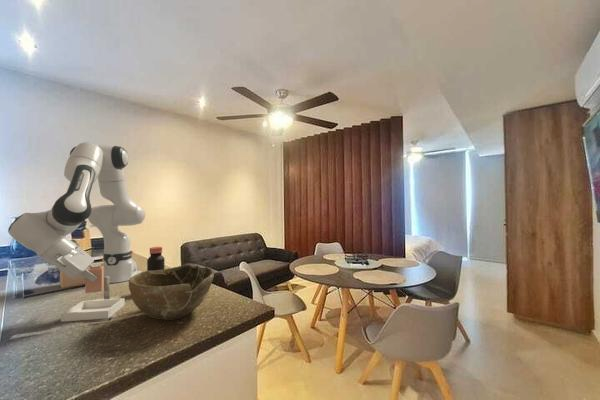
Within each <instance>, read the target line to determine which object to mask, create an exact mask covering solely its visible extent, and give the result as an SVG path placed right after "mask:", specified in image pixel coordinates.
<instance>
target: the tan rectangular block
mask: <svg viewBox="0 0 600 400" xmlns="http://www.w3.org/2000/svg"><path fill="white" fill-rule="evenodd" d="M70 240H71V241H73V242H76V243H77V244H78V242H77V241H76V240H75V239H70ZM82 284H83V285H85V278H84V277H82V276H81V275H79V276H78V277H77V278H76V279H72V278H70V277H69V276H67V275H66V274H64V273H63V272H62V271H60V270H59V286H60V287H61V289H65V287H66V288H70V286H71V287H75V286H76V285H77V286H82Z"/></svg>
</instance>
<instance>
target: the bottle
mask: <svg viewBox="0 0 600 400" xmlns="http://www.w3.org/2000/svg"><path fill="white" fill-rule="evenodd" d="M162 253H163V247H162V246H152V247H150V248H149V257H148V258H147V263H146V264H147V265H146V271H150V270H152V271H155V270H165V269H166V268H165V257H164V256H163V255H162Z"/></svg>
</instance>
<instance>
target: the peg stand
mask: <svg viewBox="0 0 600 400" xmlns="http://www.w3.org/2000/svg"><path fill="white" fill-rule="evenodd" d="M121 298H122V295H115V296H110V283H109V276H106V277H104V288H103V297H101V298H95V299H94V300H105V299H121Z"/></svg>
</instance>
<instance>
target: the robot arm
mask: <svg viewBox="0 0 600 400" xmlns="http://www.w3.org/2000/svg"><path fill="white" fill-rule="evenodd" d="M128 162H129V155H128V151H127V150H126V149H125V148H124V147H121V146H119V145H114V146H112V145H106V144H105V145H104V144H95V143H92V142H87V141H86V142H85V141H84V142H81V143H79V144H77V145H76V146H74V147H72V149H70V152H69V156H68V158H67V160H66V163H65V167H64V172H63V176H64V178H65V179H66V180H67V181H68V182H70V183H69V185H68V188H67V190H66V191H65V193H64V194H63V195H61V196H60V197H59V198H57V200H55V202H54V204H53V206H52V207H51V209H49V210H46V211H41V212H25V213H23V214H20V216H18V217H17V218H16V219H14V220H13V222H12V223H11V224H10V225H9V227H8V229H7V232H8V234H9V235H10V236H11V238H12V239H14V240H15V241H17V243H18V244H20V245H22V247H25V249H27V250H30V251H33V252H34V253H36V254H37V256H38V257H39V258H40V259H42V260H43V261H45V262H47V263H48V264H49V265H51V266H52V267H53V266H54V267H55V268H57V269H58V270H59V272H60V271H62V272H63V273H64V274H66V275H67V276H69V277H70V278H72V279H76V278H77V277H78V276H79V275H81V276H82V277H84V278H87V279H89V280H91V281H94V280H96V279H97V276H96V275H95V274H92V273H90V272H89V271H88V270H87V268H88V267H95V266H94V265H93V263H94V262H95V259H94V258H93V257H92V256H91V255H90V254H89V253H88V252H86V251H85V250H84V249H83V248H81V247H80V244H79V243H78V242H77V243H76V242H73V241H71V240H72V239H69V237H67V236H68V235H70V234H71V233H73V232H75V231H76V230H77V229H78V228H79V226H81V225H82V223H83V222H85V221H86V220H88V222H89V223H90V224H91V225H93V227H96V228H97V229H98V230H99V232H100V234H101V235H102V238H103V247H104V250H103V251H104V253H103V255H102V260H103V262H101V264H100V266H104V277H106V276H109V284H115V283H116V284H117V283H122V282H123V283H124V282H126V281H129V280H130V278H131V277H132V276H134V275H137V274H139V273H141V272H143V271H142V270H140V269H138V263H137V262H136V261H135V259H133V258H132V255H133V254H134V251H133V250H131V239H130V236H129V235H128V234H127V233H125V232H122V231H121V230H120V228H119V226H120V227H127V226H135V225H140V224H142V223H143V222H144V220H145V217H146V212H145V209H144V208H143V207H142V206H141V205H138V203H136V202H135V200H133V199H132V197H130V194H129V191H128V190H127V189H128V188H127V184H126V177H125V172H124V169H125V167H126V166H127V165H128ZM97 179H98V187H99V192H100V196H102V198H104V199H105V200H107V201H110V202H112V204H102V205H96V206H93V207H92V204H91V200H90V196H91V191H92V188H93V185H94V183H95V182H96V180H97Z"/></svg>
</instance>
